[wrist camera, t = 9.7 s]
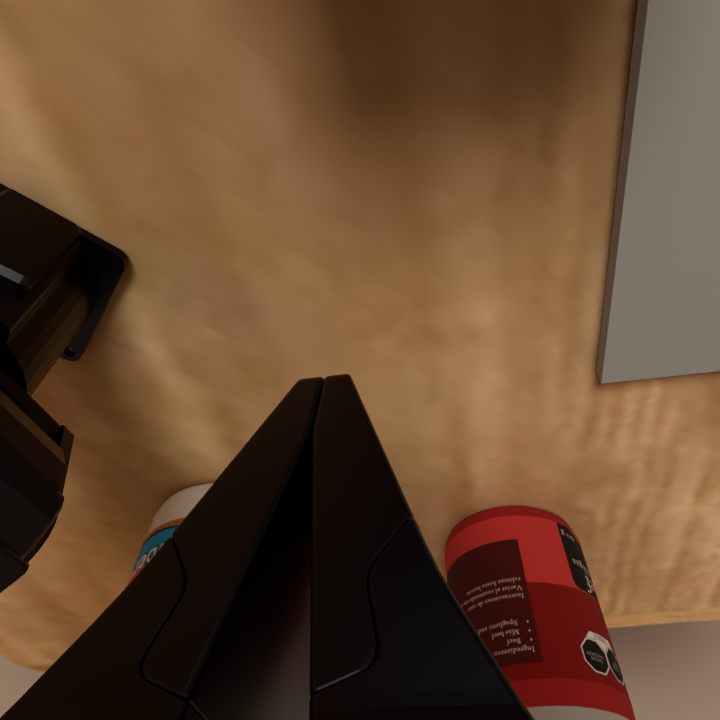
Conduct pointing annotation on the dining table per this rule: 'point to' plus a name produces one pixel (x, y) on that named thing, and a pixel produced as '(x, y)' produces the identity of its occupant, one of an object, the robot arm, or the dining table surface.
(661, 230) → the rubber mat
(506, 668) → the canned food
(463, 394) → the dining table surface
